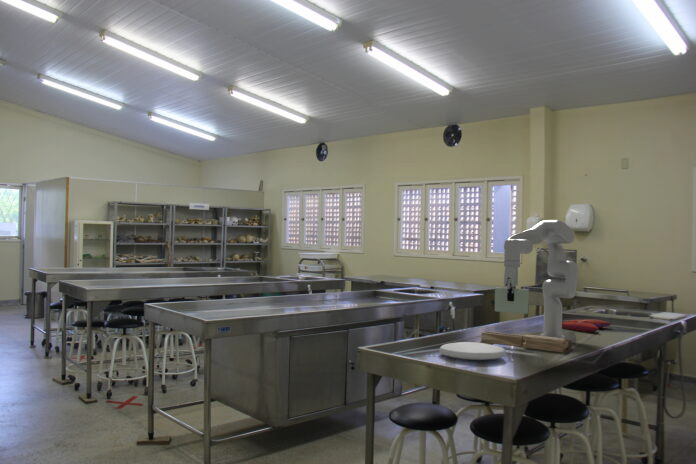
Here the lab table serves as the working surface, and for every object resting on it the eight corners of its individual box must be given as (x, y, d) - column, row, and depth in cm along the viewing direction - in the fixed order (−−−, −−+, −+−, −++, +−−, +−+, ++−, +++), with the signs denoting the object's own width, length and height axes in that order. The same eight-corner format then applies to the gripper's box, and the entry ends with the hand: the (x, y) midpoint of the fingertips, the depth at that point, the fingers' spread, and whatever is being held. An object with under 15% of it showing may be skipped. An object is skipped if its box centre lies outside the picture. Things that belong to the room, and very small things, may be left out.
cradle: (486, 340, 275) (486, 330, 275) (525, 345, 264) (526, 335, 264) (480, 343, 267) (480, 333, 267) (520, 348, 256) (520, 337, 256)
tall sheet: (495, 311, 269) (496, 287, 269) (528, 313, 261) (528, 289, 261) (494, 311, 267) (495, 287, 268) (527, 314, 259) (527, 289, 259)
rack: (529, 345, 265) (529, 332, 265) (571, 350, 254) (571, 336, 254) (521, 349, 253) (521, 335, 254) (565, 355, 242) (566, 340, 243)
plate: (428, 345, 233) (458, 339, 253) (429, 360, 233) (459, 352, 253) (486, 348, 215) (514, 341, 235) (487, 364, 214) (515, 355, 234)
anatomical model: (611, 332, 328) (562, 328, 347) (611, 320, 328) (561, 317, 347) (598, 333, 304) (545, 329, 323) (598, 320, 305) (545, 317, 324)
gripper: (508, 263, 273) (507, 299, 273) (500, 263, 260) (499, 301, 259) (523, 264, 269) (522, 300, 269) (515, 264, 256) (514, 302, 255)
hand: (511, 300), depth 264 cm, fingers closed on tall sheet, 2 cm apart
